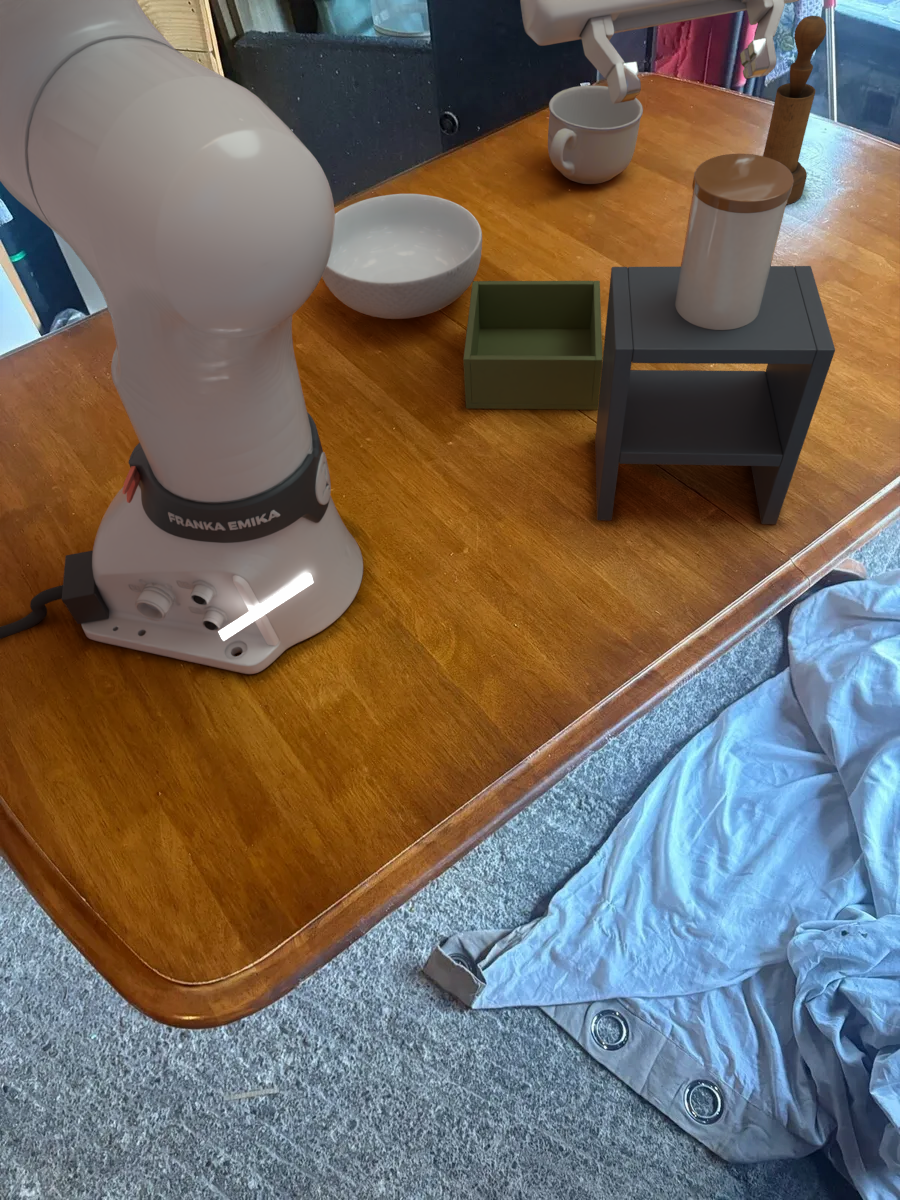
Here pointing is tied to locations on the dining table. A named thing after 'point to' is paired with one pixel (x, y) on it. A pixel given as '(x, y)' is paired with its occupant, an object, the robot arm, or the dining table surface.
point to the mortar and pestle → (795, 105)
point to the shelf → (709, 383)
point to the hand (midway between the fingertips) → (694, 86)
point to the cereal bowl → (403, 255)
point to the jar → (731, 239)
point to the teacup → (592, 133)
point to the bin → (533, 345)
